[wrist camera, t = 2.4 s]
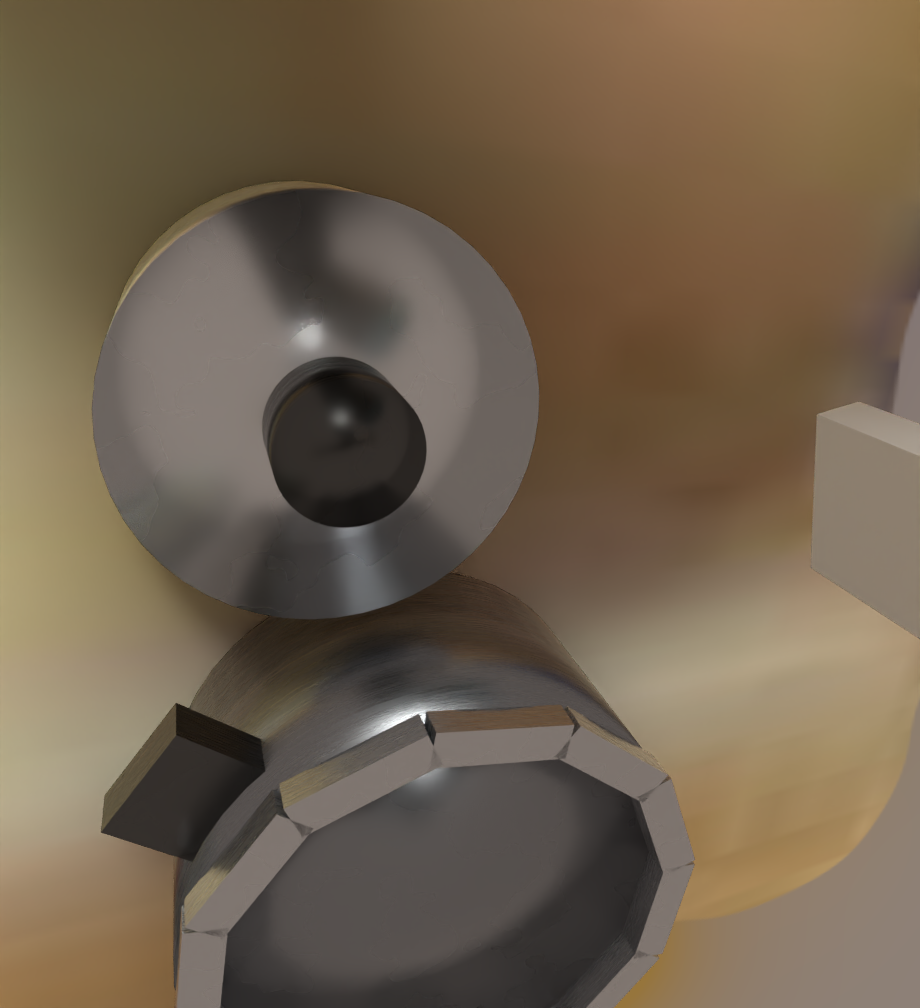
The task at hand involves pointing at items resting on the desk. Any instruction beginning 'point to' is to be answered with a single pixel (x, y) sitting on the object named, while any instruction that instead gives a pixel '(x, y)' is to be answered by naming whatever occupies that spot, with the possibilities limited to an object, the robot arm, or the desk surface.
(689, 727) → the desk surface
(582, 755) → the pot
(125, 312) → the lid
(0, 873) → the desk surface
